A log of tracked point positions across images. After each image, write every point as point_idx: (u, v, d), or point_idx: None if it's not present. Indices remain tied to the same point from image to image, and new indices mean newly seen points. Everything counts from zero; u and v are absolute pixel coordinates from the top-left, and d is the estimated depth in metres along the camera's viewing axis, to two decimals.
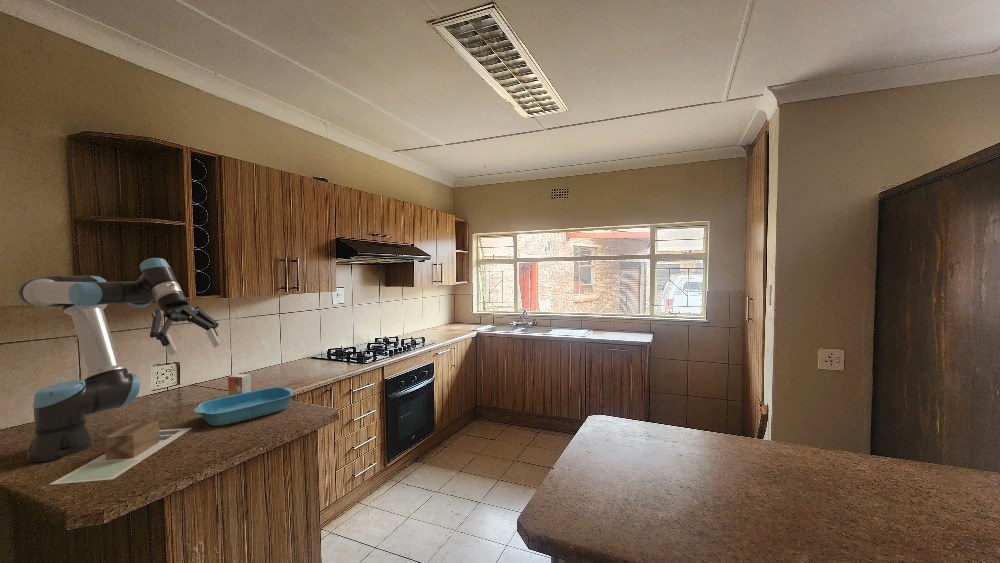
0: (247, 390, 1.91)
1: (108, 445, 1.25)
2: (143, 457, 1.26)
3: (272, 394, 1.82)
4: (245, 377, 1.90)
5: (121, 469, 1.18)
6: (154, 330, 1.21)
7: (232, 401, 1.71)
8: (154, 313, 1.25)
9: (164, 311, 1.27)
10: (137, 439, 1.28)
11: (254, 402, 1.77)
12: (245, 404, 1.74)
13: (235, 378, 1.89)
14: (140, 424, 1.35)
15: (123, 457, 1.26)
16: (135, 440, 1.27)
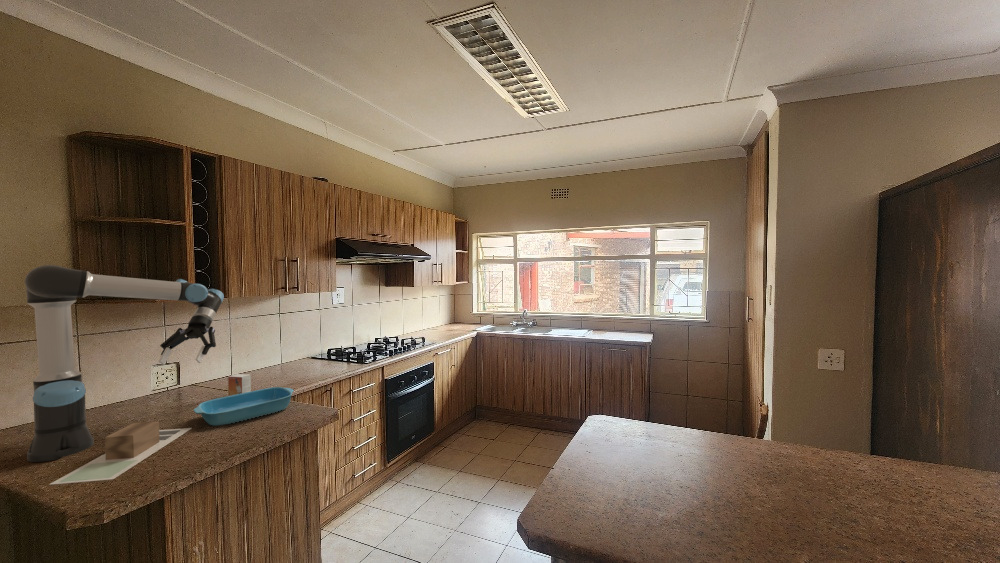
0: (247, 390, 1.91)
1: (108, 445, 1.25)
2: (143, 457, 1.26)
3: (273, 394, 1.82)
4: (245, 377, 1.90)
5: (121, 469, 1.18)
6: None
7: (233, 401, 1.72)
8: (213, 330, 1.65)
9: None
10: (137, 439, 1.28)
11: (255, 402, 1.77)
12: (246, 404, 1.75)
13: (235, 378, 1.89)
14: (140, 424, 1.35)
15: (123, 457, 1.26)
16: (135, 440, 1.27)
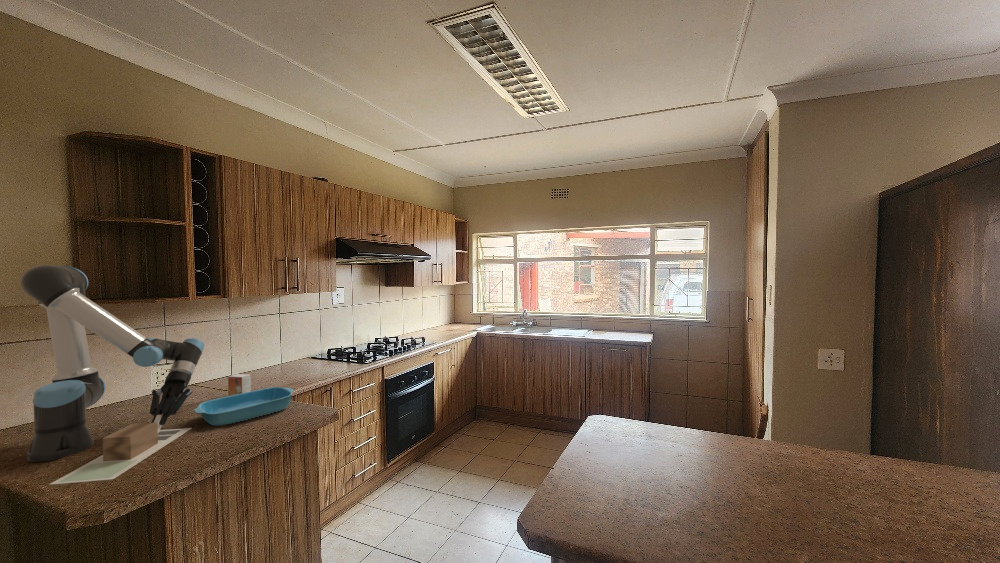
0: (247, 390, 1.91)
1: (105, 446, 1.24)
2: (143, 457, 1.26)
3: (272, 394, 1.82)
4: (245, 377, 1.90)
5: (121, 469, 1.18)
6: None
7: (232, 401, 1.71)
8: (188, 393, 1.49)
9: None
10: (134, 440, 1.27)
11: (254, 402, 1.77)
12: (245, 404, 1.74)
13: (235, 378, 1.89)
14: (139, 425, 1.35)
15: (120, 458, 1.25)
16: (132, 442, 1.26)
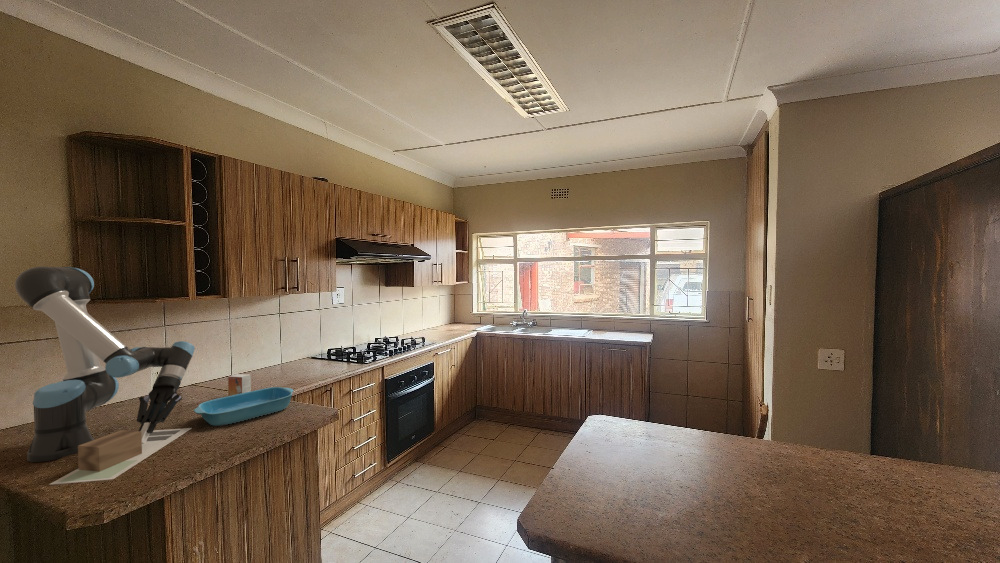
0: (247, 390, 1.91)
1: (80, 454, 1.18)
2: (143, 457, 1.26)
3: (272, 394, 1.82)
4: (245, 377, 1.90)
5: (121, 469, 1.18)
6: None
7: (232, 401, 1.71)
8: (178, 399, 1.42)
9: None
10: (105, 451, 1.19)
11: (254, 402, 1.77)
12: (245, 404, 1.74)
13: (235, 378, 1.89)
14: (124, 432, 1.28)
15: (91, 469, 1.18)
16: (102, 453, 1.18)
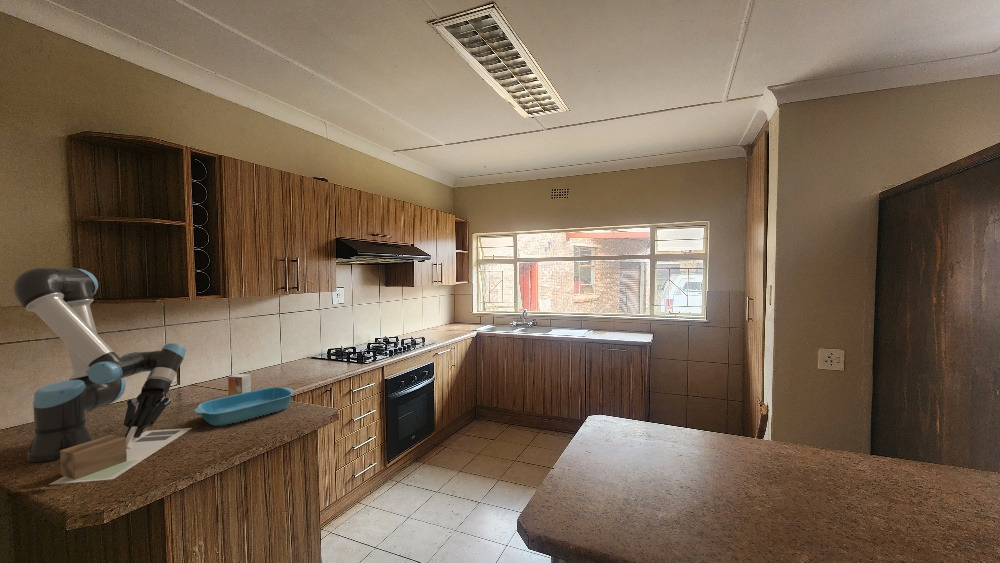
0: (247, 390, 1.91)
1: (61, 459, 1.15)
2: (143, 457, 1.26)
3: (271, 394, 1.82)
4: (245, 377, 1.90)
5: (121, 469, 1.18)
6: None
7: (232, 401, 1.71)
8: (167, 402, 1.38)
9: None
10: (82, 459, 1.14)
11: (253, 402, 1.77)
12: (245, 404, 1.74)
13: (235, 378, 1.89)
14: (111, 437, 1.24)
15: (69, 476, 1.14)
16: (79, 460, 1.14)
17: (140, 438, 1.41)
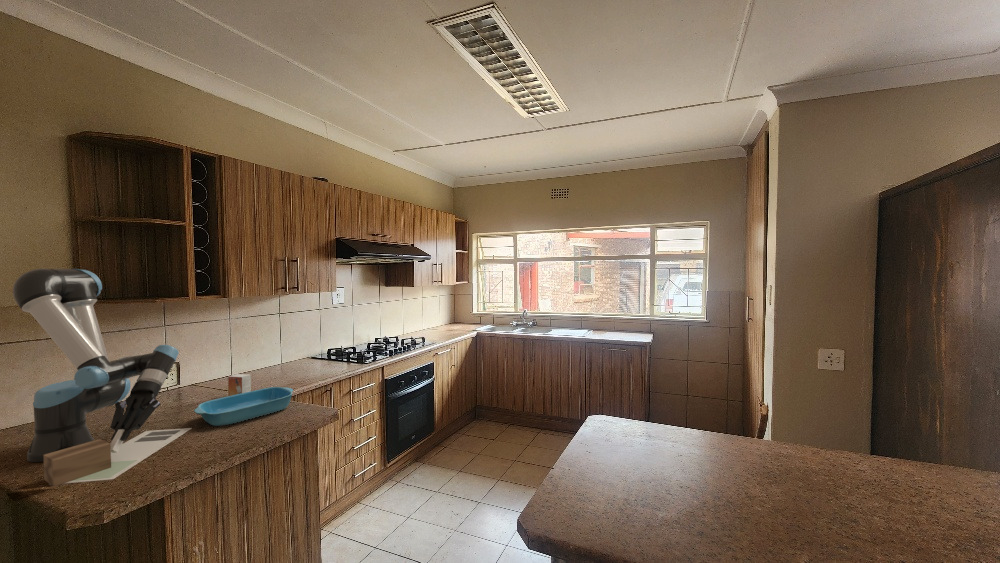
0: (247, 390, 1.91)
1: (44, 464, 1.12)
2: (143, 457, 1.26)
3: (271, 394, 1.82)
4: (245, 377, 1.90)
5: (121, 469, 1.18)
6: None
7: (231, 401, 1.71)
8: (156, 405, 1.34)
9: None
10: (62, 465, 1.11)
11: (253, 402, 1.77)
12: (244, 404, 1.74)
13: (235, 378, 1.89)
14: (97, 442, 1.21)
15: (50, 482, 1.10)
16: (58, 466, 1.10)
17: (140, 438, 1.41)
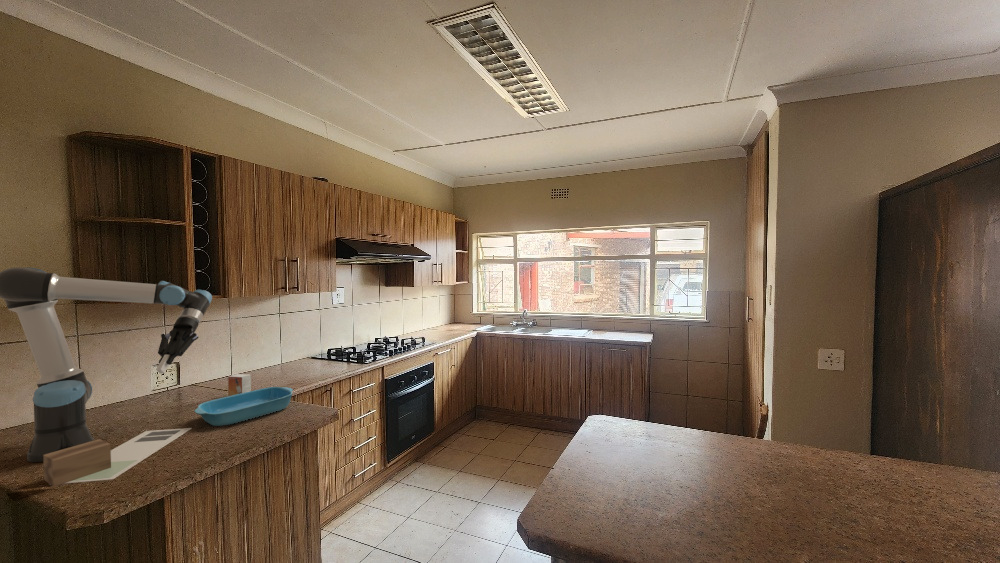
0: (247, 390, 1.91)
1: (44, 464, 1.12)
2: (143, 457, 1.26)
3: (270, 394, 1.82)
4: (245, 377, 1.90)
5: (121, 469, 1.18)
6: None
7: (230, 402, 1.71)
8: (195, 337, 1.55)
9: None
10: (61, 465, 1.10)
11: (252, 402, 1.77)
12: (243, 404, 1.74)
13: (235, 378, 1.89)
14: (97, 442, 1.21)
15: (50, 482, 1.10)
16: (58, 467, 1.10)
17: (140, 438, 1.41)
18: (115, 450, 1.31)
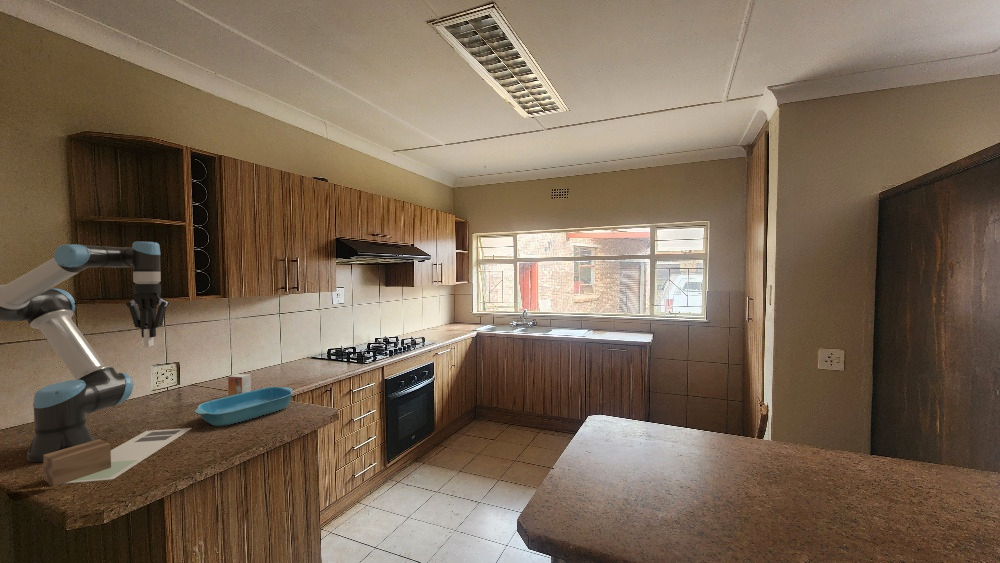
0: (247, 390, 1.91)
1: (44, 464, 1.12)
2: (143, 457, 1.26)
3: (269, 394, 1.82)
4: (245, 377, 1.90)
5: (121, 469, 1.18)
6: None
7: (230, 402, 1.70)
8: (166, 305, 1.44)
9: None
10: (61, 465, 1.10)
11: (251, 402, 1.77)
12: (243, 404, 1.74)
13: (235, 378, 1.89)
14: (97, 442, 1.21)
15: (50, 482, 1.10)
16: (58, 467, 1.10)
17: (140, 438, 1.41)
18: (115, 450, 1.31)
